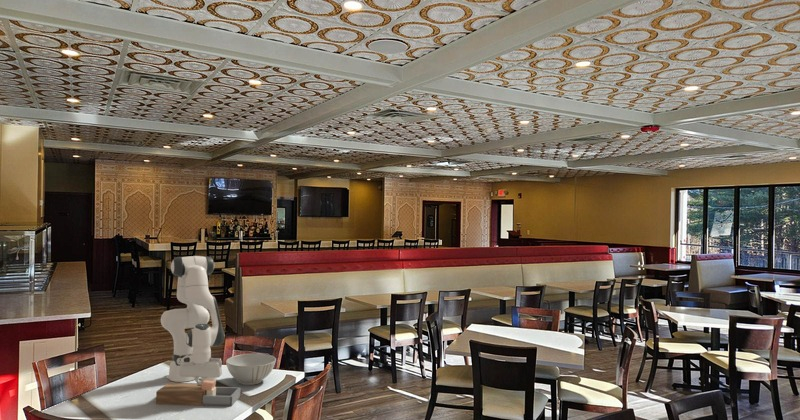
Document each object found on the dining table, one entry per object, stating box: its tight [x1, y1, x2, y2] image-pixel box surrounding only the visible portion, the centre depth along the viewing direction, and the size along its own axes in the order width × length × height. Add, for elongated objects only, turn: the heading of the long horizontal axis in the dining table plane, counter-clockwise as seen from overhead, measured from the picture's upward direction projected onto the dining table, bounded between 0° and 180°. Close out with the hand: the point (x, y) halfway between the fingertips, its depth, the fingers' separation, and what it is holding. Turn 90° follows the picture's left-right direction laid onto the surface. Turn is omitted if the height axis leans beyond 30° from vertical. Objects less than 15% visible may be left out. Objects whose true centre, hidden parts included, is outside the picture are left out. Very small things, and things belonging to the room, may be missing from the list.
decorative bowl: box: [225, 353, 277, 386], centre depth 294 cm, size 27×27×12 cm
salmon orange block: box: [201, 380, 217, 390], centre depth 263 cm, size 5×5×3 cm
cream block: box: [206, 386, 217, 396], centre depth 263 cm, size 5×5×3 cm
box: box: [202, 386, 241, 407], centre depth 263 cm, size 14×14×4 cm
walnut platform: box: [155, 382, 207, 406], centre depth 263 cm, size 14×22×6 cm, turn 90°
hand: (200, 385), depth 263 cm, fingers closed
